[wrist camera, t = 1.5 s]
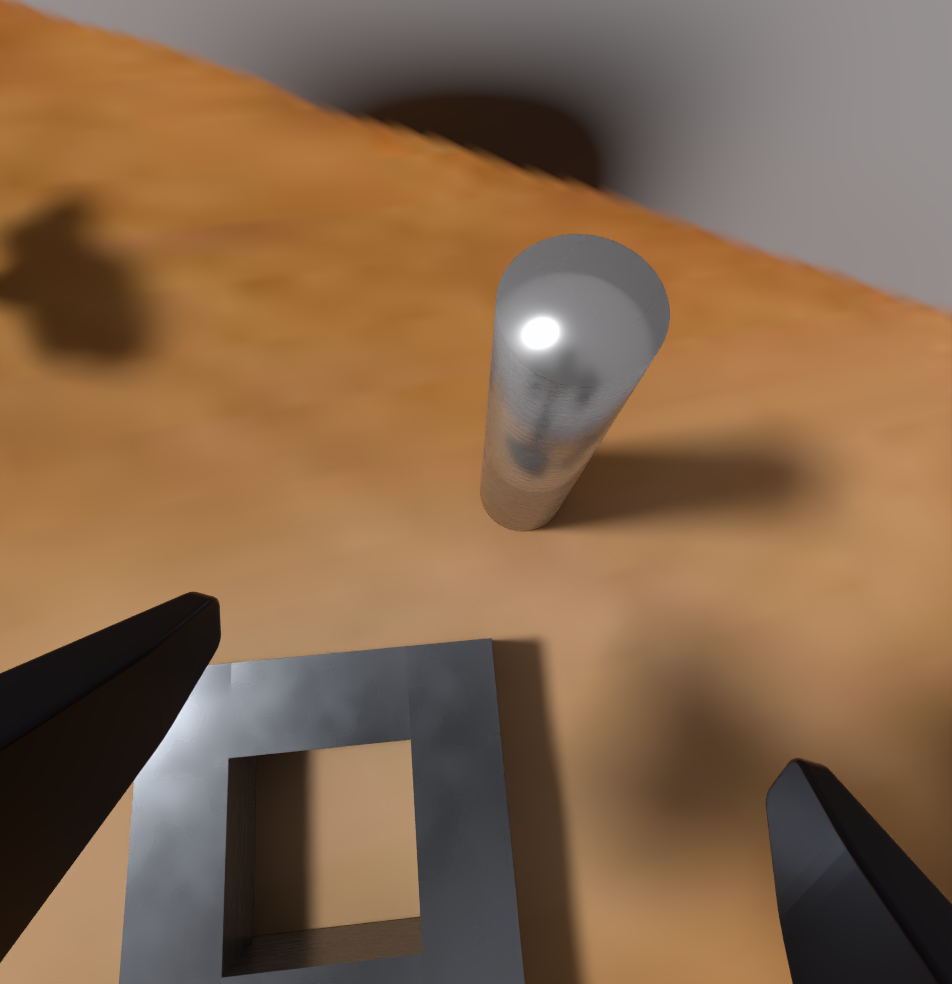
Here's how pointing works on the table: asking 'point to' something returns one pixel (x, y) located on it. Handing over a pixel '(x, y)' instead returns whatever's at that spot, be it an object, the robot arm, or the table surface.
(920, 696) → the table surface
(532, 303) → the axle
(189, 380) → the table surface
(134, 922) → the block
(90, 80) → the table surface
